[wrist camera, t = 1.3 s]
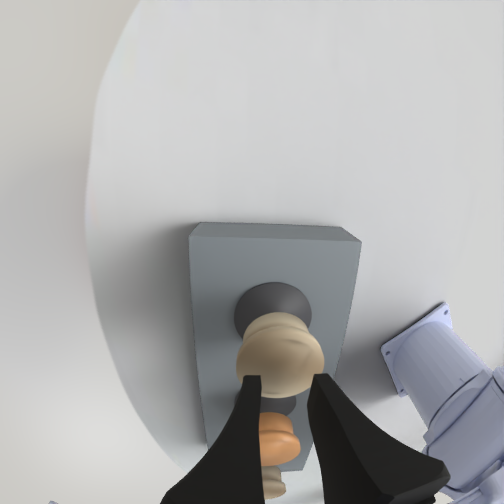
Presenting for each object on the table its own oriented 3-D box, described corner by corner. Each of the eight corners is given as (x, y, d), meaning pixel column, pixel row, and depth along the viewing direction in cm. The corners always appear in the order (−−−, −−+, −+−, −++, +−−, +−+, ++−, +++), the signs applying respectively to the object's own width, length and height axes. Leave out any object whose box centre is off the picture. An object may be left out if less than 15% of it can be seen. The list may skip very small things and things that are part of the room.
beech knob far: (281, 479, 20) (282, 498, 18) (237, 480, 20) (237, 499, 18) (286, 461, 19) (288, 483, 16) (237, 462, 19) (237, 484, 16)
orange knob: (292, 440, 18) (295, 464, 15) (237, 441, 18) (236, 465, 15) (300, 408, 16) (305, 435, 14) (237, 409, 16) (236, 436, 14)
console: (298, 444, 27) (302, 471, 23) (214, 444, 27) (211, 472, 23) (341, 227, 19) (363, 242, 15) (200, 222, 19) (187, 237, 15)
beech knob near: (309, 368, 15) (316, 396, 13) (237, 368, 15) (235, 397, 13) (319, 306, 14) (331, 332, 12) (237, 306, 14) (236, 332, 12)
